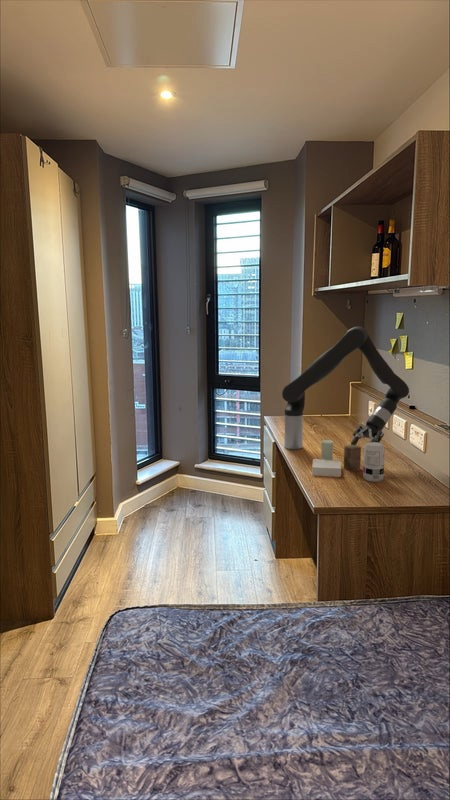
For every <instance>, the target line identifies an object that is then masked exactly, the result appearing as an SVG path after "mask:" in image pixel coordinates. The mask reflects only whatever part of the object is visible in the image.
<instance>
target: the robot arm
mask: <svg viewBox="0 0 450 800" xmlns="http://www.w3.org/2000/svg"><path fill="white" fill-rule="evenodd" d="M367 331H368V330H366V328H364V327H362V326H360V325H358V326H354V327H352V328H350V329H348V330H347V331H346V333H345V334H343V336H342V337H341V339H339V340H338V342H336V344H334V345H333V346H332V347H330V348H329V349H328V350H326V351H325V352H324V353H322V354H321V355H319V356H318V357H317V358H316V359H315V360H314V361H313V362H312V363H311V364H310V365H309V366H308V367H307V368H306V369H305V370H304V371H303V372H302V373H301V374H300V375H299V376H297V378H295V379H293V380H292V381H290V382H289V383H288V384H287V385H285V386H284V387H283V390H282V391H281V392H282V393H281V397H282V399H283V400H284V401H286V402H287V404H286V407H285V409H284V448H285V449H287V450H300V448H301V449H303V444H304V442H303V440H304V439H303V438H304V437H303V436H304V434H303V433H304V423H303V422H304V410H305V405H306V404H305V400H306V390H308V389H309V388H310V387H312V386H313V385H315V384H317V383H319V382H320V381H322V380H323V379H325V378H326V377H327V376H328V375H330V374H331V373H332V372H333V371H334V370H335V369H336V368H337V367H338V366H339V365H340V364H341V362H342V361H343V360H344V358H346V357H347V356H348V355H350V354H351V353H352V352H353V351H355V350H356V349H358V350H360V352H361V353H362V355H364V357H365V359H366V360H367V362H368V364H369V366H370V369H371V370H372V371H373V373H374V374H375V376H376V377H377V378H378V379H379V381H380V382H381V383H382V384H384V385H387V386H388V387H389V389H388V390H387V391H386V393H385V394H384V396H383V399H382V400H381V401H380V403H379V405H378V406H377V407H376V409H375V410H374V411H373V412H372V414H371V415H370V417H369V418H368V419H367V421H366V423H365V424H366V425H365V426H362V425H361V424H359V425H358V426H357V428H356V429H355V431H354V432H353V433H352V436H353V439H352V441H351V442H350V445H356V446H357V444H358V442H360V441H359V440H362V439H365V438H366V439H367V438H368V439H369V442H379V443H381V441H382V439H383V437H384V436H385V434H384V432H383V429H384V428H385V426H386V425H387V424H388V422H389V420H390V419H391V417H392V416H393V414H394V413H395V411H396V409H397V408H398V407H397V406H398V405H397V404H398V403H399V402H400V401H401V400H402V399H405V398H406V397H408V395H409V393H410V387H409V386H408V385H407V383H406V382H405V380H403V379H402V378H401V377H400V376H398V375H397V374H396V373H395V371H394V370H393V369H392V368H391V367H390V365H389V364H388V363H387V361H386V360H385V359H384V357H382V355H381V353H380V352H379V351H378V349H377V348H376V346H375V344H374V342H373V341H372V339H371V337H370V335H369V333H368V332H367Z"/></svg>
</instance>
